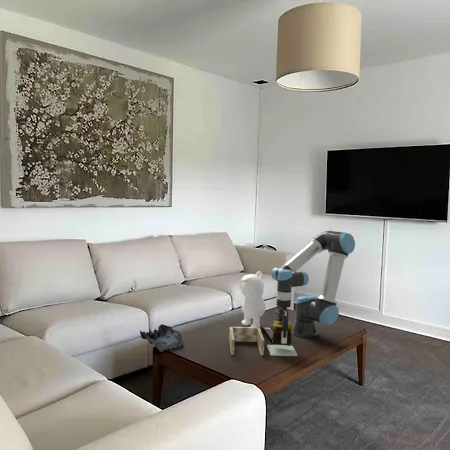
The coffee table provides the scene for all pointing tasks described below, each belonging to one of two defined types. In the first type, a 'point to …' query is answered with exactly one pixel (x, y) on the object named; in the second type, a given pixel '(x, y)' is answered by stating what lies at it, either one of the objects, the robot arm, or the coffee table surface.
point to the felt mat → (281, 350)
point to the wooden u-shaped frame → (246, 337)
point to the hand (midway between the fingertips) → (281, 339)
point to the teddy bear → (252, 298)
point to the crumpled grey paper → (163, 337)
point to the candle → (278, 333)
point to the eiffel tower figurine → (278, 311)
